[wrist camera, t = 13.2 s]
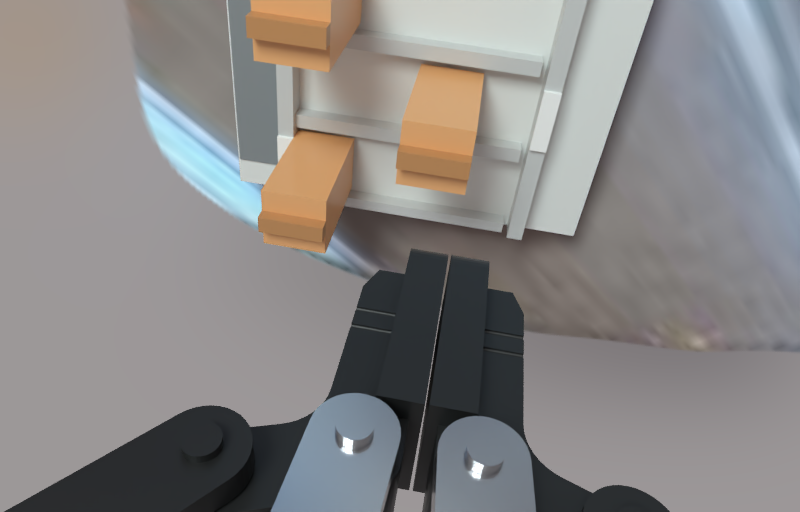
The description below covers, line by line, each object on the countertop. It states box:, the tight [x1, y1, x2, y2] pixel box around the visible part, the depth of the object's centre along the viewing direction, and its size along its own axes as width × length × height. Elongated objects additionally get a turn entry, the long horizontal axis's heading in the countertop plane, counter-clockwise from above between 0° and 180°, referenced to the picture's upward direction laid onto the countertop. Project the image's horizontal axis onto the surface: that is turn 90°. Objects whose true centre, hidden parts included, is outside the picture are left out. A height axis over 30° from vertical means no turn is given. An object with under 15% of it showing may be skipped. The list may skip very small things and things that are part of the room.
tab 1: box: [246, 0, 362, 72], centre depth 25 cm, size 3×3×7 cm
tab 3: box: [396, 64, 484, 195], centre depth 28 cm, size 3×3×7 cm
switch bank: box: [227, 0, 654, 240], centre depth 31 cm, size 19×14×3 cm
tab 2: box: [258, 130, 354, 253], centre depth 31 cm, size 3×3×7 cm
